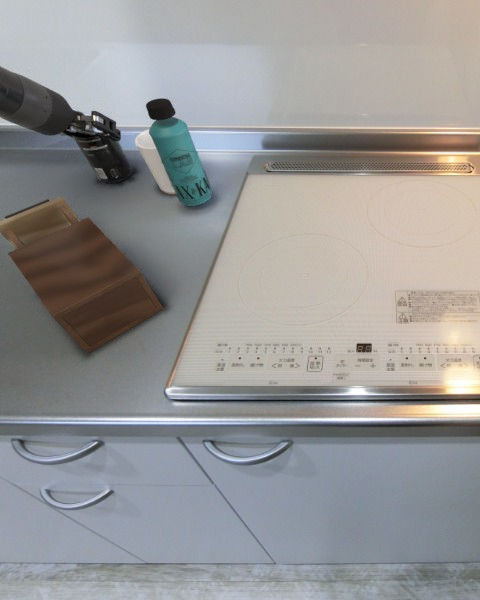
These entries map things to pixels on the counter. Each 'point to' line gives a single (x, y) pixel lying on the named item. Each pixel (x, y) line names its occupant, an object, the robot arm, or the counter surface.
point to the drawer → (37, 222)
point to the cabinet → (86, 283)
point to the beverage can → (104, 156)
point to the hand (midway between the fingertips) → (100, 135)
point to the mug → (154, 161)
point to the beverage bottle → (178, 153)
